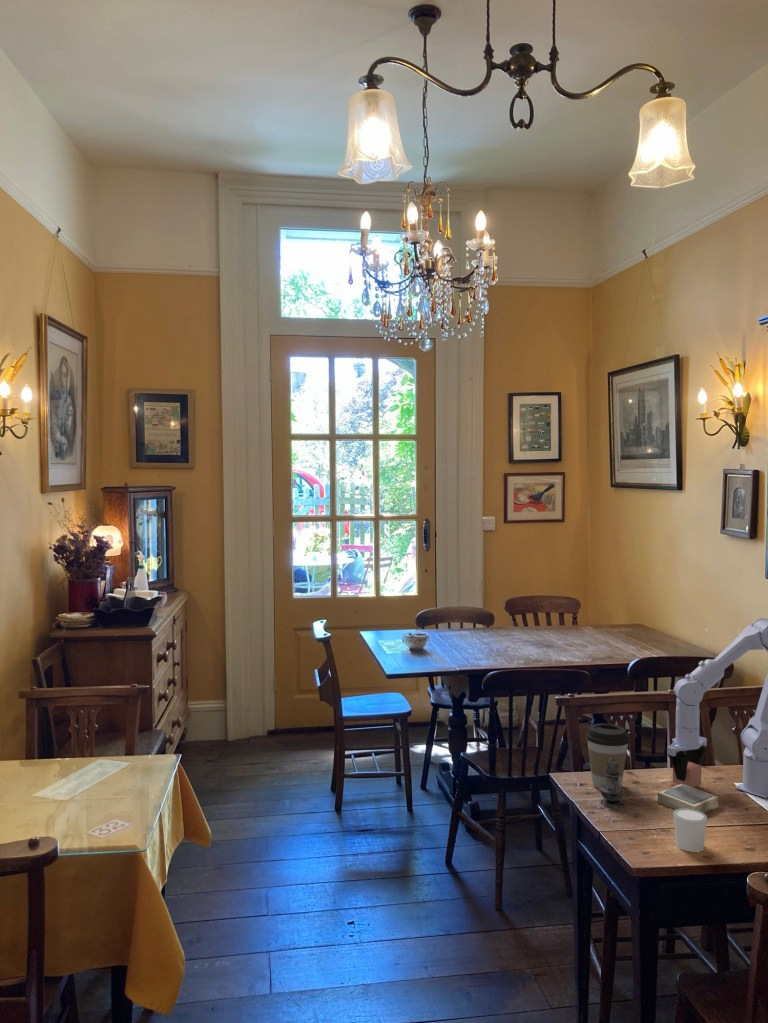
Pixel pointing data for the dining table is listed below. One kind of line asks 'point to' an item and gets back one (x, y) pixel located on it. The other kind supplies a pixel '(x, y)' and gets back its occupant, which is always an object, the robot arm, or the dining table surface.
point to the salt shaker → (612, 785)
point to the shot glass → (690, 829)
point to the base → (688, 798)
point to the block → (690, 775)
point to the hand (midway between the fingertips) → (686, 777)
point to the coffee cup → (606, 750)
